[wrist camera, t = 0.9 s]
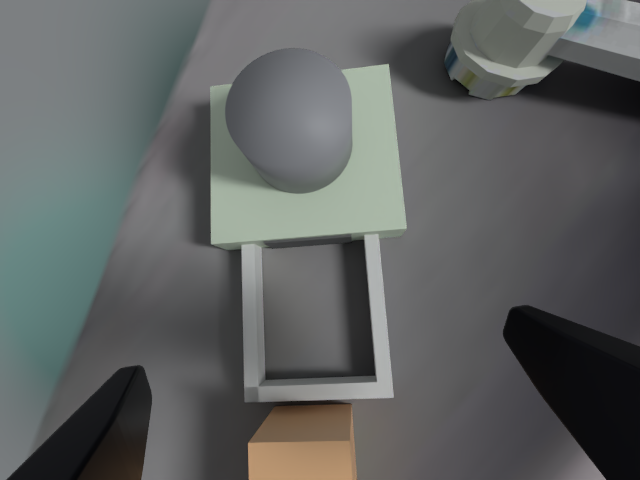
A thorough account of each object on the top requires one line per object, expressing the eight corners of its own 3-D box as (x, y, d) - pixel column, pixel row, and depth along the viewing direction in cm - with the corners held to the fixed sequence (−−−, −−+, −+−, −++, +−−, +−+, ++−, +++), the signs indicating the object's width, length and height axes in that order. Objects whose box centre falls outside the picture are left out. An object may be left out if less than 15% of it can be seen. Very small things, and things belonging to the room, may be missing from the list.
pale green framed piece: (416, 388, 19) (448, 436, 12) (229, 395, 20) (169, 442, 13) (384, 89, 22) (397, 5, 16) (225, 108, 23) (176, 36, 17)
